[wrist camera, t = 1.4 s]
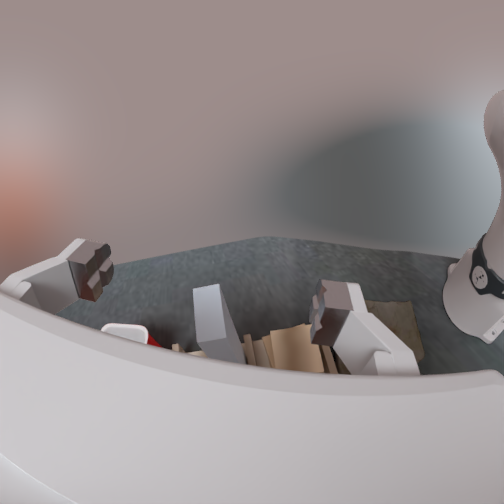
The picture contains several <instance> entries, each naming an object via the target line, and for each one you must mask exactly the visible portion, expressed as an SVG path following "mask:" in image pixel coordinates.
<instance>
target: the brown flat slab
mask: <svg viewBox="0 0 504 504" xmlns="http://www.w3.org/2000/svg"><path fill="white" fill-rule="evenodd" d="M364 301H365V305H366V308H367V311H368V313H372V314H373V315H374V316H375V317H376V318H377V319H379V320H380V321H381V322H382V323H383V324H384V325H385V326H386V327H387V328H388V329H389V330H390V331H391V332H393V333H394V334H395V335H396V336H397V337H398V338H399V339H400V340H401V341H402V342H403V343H404V344H405V345H406V346H407V347H409V348H410V349H411V350H412V351H413V353H414V356H415V359H416V362H417V363H418V362H420V361H421V360H422V359H423V358H424V356H425V352H424V349H423V346H422V342H421V337H420V332H419V330H418V326H417V321H416V317H415V314H414V310H413V307H412V303H411V301H406V302H395V301H391V302H385V303H384V302H381V301H380V302H379V301H369V300H364ZM335 358H336V369H337V372H338V374H345V375H352V374H351V373H350V371H349V370H348V369H347V367H346V366H345V364H344V363H343V361H342V360H341V359H340V357H339V356H338V354H337V353H336V352H335Z"/></svg>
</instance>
